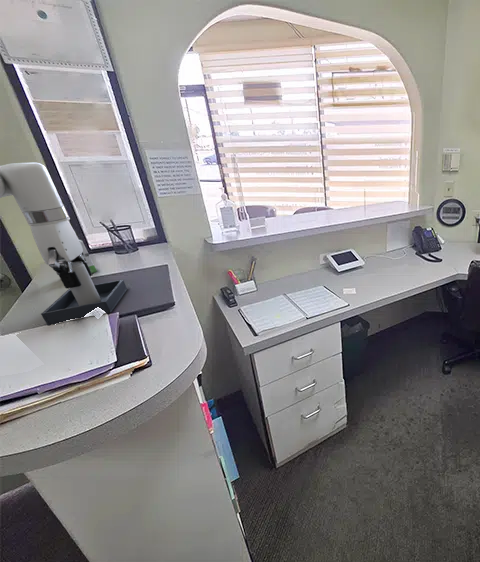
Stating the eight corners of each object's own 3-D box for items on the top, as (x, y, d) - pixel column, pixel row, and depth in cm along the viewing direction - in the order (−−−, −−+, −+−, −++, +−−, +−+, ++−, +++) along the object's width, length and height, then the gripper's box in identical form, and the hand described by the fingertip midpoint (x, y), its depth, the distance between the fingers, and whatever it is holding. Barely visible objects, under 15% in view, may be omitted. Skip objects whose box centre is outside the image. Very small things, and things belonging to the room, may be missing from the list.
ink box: (94, 269, 114) (80, 238, 109) (97, 272, 111) (83, 240, 106) (63, 277, 108) (46, 245, 103) (66, 280, 105) (49, 247, 100)
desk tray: (47, 325, 78) (40, 314, 76) (74, 299, 91) (68, 288, 90) (111, 312, 82) (105, 301, 81) (127, 289, 96) (123, 279, 94)
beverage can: (86, 309, 84) (65, 268, 79) (75, 307, 85) (54, 267, 80) (105, 301, 88) (87, 262, 83) (95, 299, 89) (76, 260, 84)
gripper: (45, 212, 82) (75, 273, 90) (6, 226, 68) (46, 297, 75) (80, 208, 85) (107, 268, 92) (49, 221, 70) (84, 291, 78)
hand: (79, 281), depth 83 cm, fingers open, 6 cm apart
